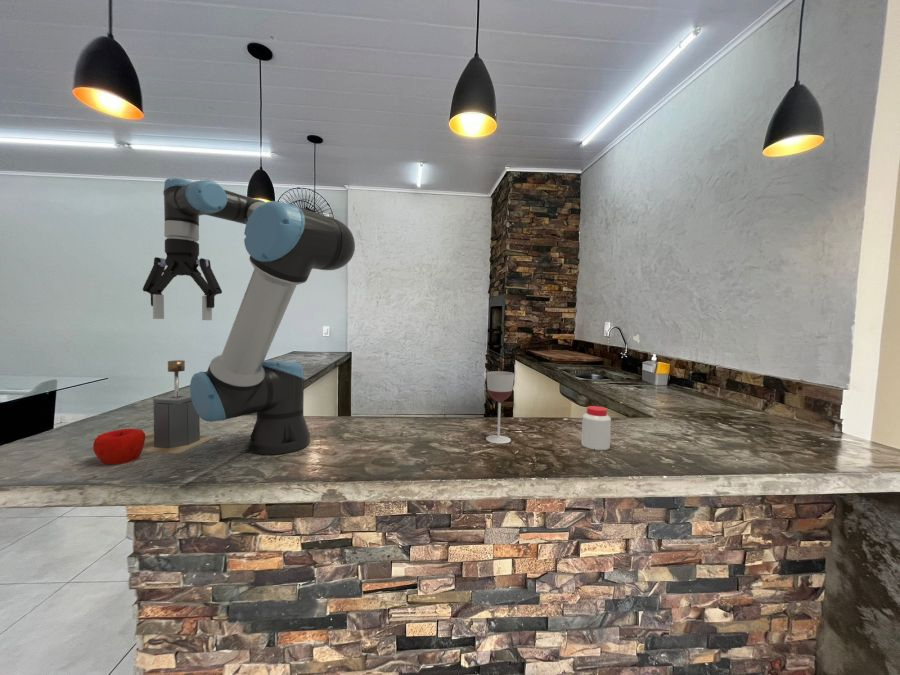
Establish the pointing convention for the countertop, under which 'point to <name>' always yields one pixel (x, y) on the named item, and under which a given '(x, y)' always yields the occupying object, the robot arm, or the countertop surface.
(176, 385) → the plunger
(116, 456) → the apple
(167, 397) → the gray octagonal holder
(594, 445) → the pill bottle
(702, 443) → the countertop surface
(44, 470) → the countertop surface
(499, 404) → the wineglass
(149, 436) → the board
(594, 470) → the countertop surface
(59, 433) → the countertop surface
